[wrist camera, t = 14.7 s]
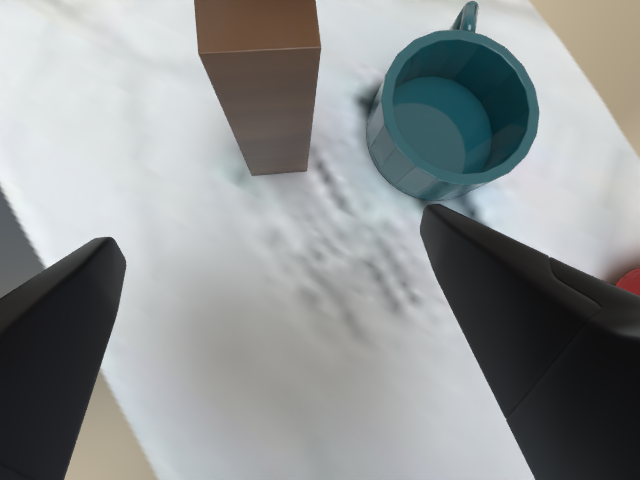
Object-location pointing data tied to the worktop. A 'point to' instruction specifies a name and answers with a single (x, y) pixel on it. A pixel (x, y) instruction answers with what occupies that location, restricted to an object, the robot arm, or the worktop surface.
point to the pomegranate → (631, 282)
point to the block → (263, 75)
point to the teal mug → (452, 113)
